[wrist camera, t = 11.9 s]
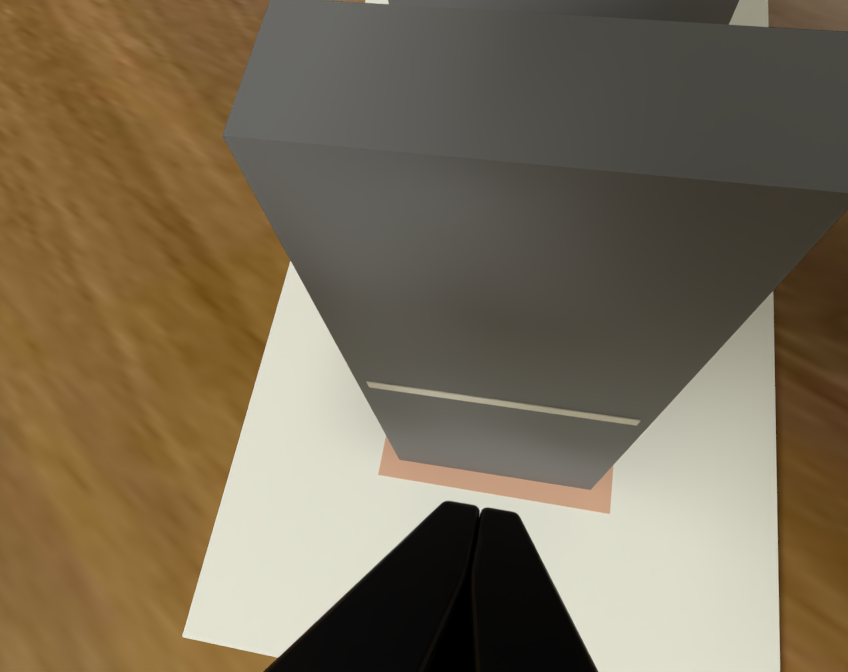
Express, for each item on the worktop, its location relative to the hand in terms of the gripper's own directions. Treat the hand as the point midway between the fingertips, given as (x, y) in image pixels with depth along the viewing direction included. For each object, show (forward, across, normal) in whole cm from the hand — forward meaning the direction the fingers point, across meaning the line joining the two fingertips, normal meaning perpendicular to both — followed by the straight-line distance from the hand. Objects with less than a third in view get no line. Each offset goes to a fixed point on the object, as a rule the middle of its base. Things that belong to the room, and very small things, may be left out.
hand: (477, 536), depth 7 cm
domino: (+9, 0, +4) cm, 10 cm away
